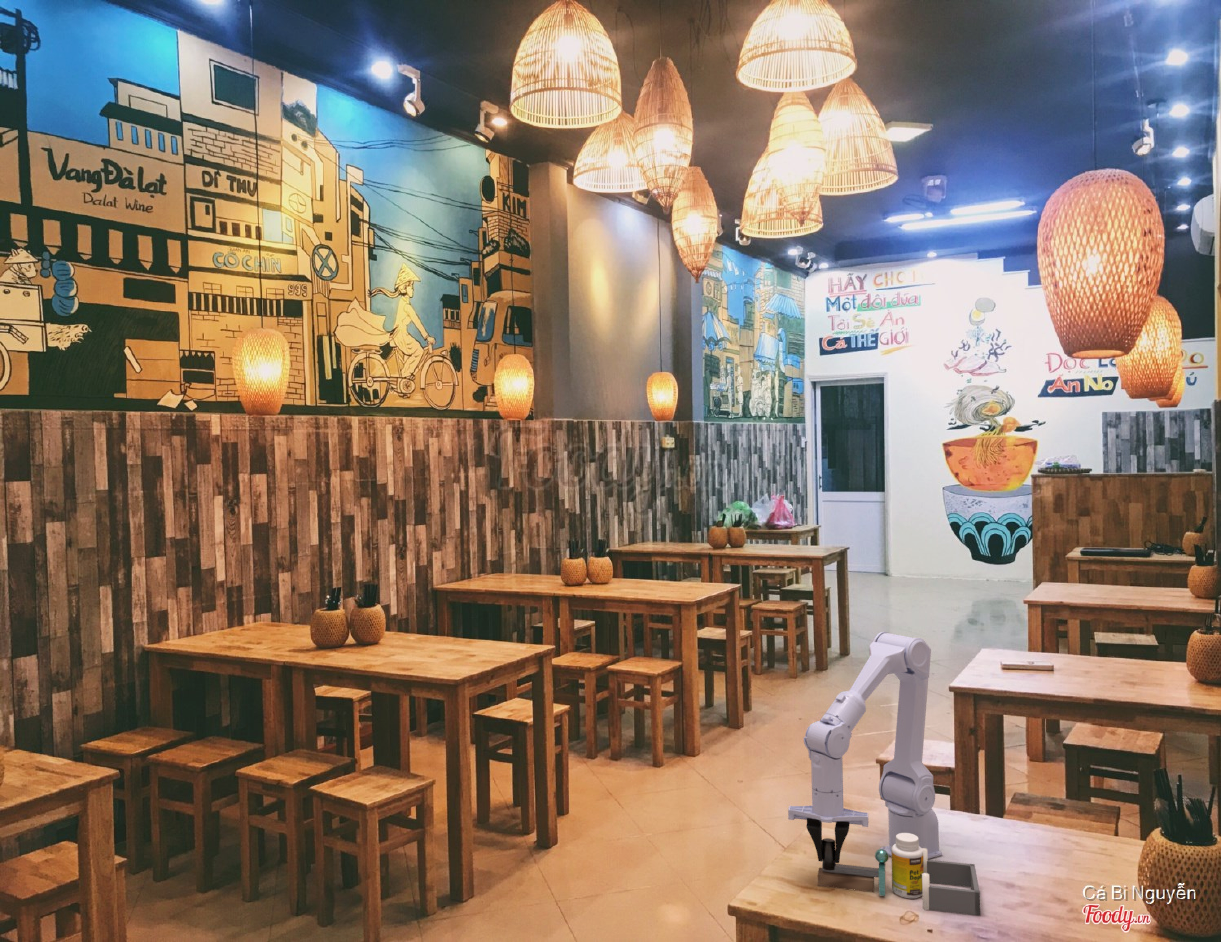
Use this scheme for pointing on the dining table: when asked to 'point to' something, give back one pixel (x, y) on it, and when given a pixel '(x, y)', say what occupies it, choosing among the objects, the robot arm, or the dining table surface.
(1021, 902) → the dining table surface
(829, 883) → the guide
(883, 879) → the slider rail assembly
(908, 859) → the supplement bottle
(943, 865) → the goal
